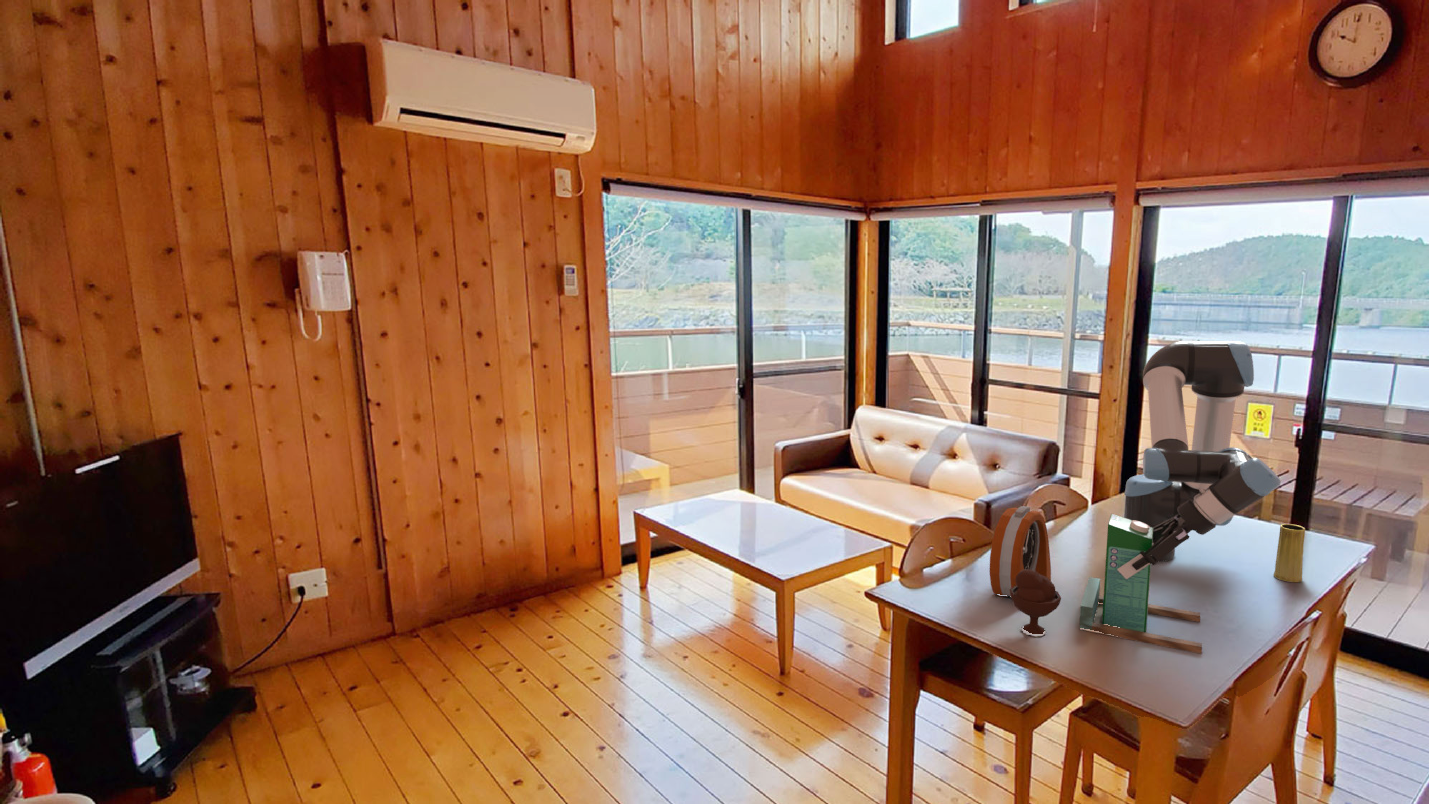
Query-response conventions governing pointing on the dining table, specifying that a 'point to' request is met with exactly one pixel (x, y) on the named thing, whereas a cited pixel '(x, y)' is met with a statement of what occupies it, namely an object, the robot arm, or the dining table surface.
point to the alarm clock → (1018, 548)
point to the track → (1087, 620)
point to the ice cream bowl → (1034, 598)
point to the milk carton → (1124, 595)
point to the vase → (1290, 553)
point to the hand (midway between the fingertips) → (1124, 564)
